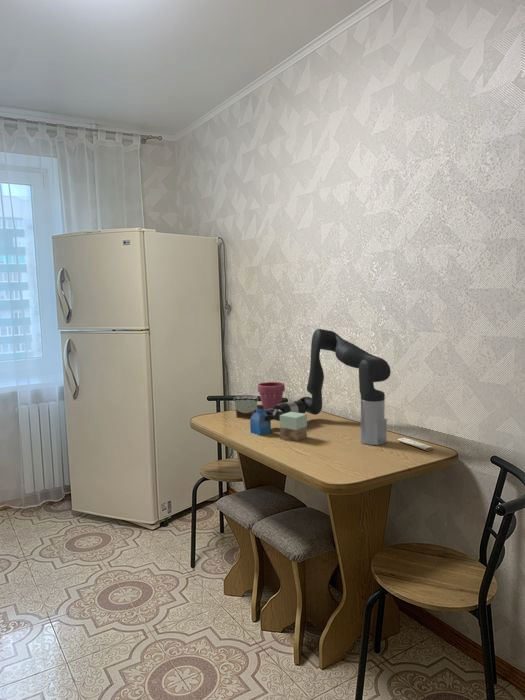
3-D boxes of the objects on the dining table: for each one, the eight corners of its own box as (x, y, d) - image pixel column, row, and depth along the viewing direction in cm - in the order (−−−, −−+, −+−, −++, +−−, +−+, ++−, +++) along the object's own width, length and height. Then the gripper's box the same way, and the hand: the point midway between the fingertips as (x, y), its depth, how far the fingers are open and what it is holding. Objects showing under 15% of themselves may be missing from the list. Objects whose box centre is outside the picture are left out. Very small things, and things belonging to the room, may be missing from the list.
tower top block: (306, 426, 212) (306, 414, 211) (296, 430, 206) (296, 417, 205) (290, 423, 217) (290, 411, 216) (279, 427, 210) (279, 415, 210)
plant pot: (257, 405, 276) (257, 381, 275) (283, 404, 277) (283, 381, 276) (258, 411, 262) (258, 386, 261) (286, 410, 263) (285, 385, 262)
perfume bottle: (261, 430, 225) (261, 403, 224) (270, 433, 220) (270, 405, 219) (250, 432, 221) (250, 405, 220) (259, 435, 216) (259, 407, 215)
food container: (260, 414, 255) (259, 394, 254) (258, 417, 248) (258, 397, 247) (235, 414, 256) (235, 394, 255) (233, 417, 250) (233, 397, 249)
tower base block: (306, 437, 213) (306, 425, 212) (297, 442, 206) (297, 430, 206) (289, 435, 217) (289, 423, 217) (280, 439, 210) (280, 427, 210)
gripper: (274, 400, 235) (247, 406, 224) (297, 405, 225) (269, 411, 214) (275, 416, 236) (248, 422, 225) (297, 422, 225) (270, 428, 215)
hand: (258, 417), depth 219 cm, fingers open, 8 cm apart
